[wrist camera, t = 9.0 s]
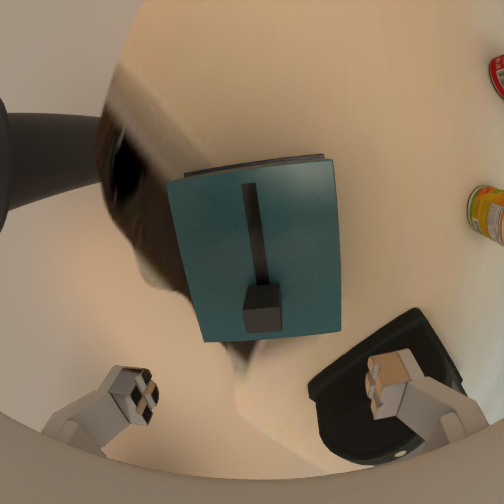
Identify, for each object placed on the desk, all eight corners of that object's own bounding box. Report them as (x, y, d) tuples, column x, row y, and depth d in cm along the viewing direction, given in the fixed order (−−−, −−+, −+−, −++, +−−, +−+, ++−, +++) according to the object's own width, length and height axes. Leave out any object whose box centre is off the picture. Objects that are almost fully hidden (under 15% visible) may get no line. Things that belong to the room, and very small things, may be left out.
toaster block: (214, 311, 30) (201, 346, 24) (185, 173, 25) (160, 180, 20) (333, 299, 28) (344, 334, 23) (322, 153, 24) (337, 154, 18)
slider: (250, 308, 22) (246, 334, 19) (246, 286, 22) (241, 310, 19) (282, 305, 22) (282, 331, 19) (279, 282, 21) (279, 306, 18)
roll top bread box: (474, 387, 14) (496, 441, 18) (413, 300, 28) (460, 376, 32) (305, 480, 19) (389, 503, 23) (301, 382, 33) (374, 433, 37)
